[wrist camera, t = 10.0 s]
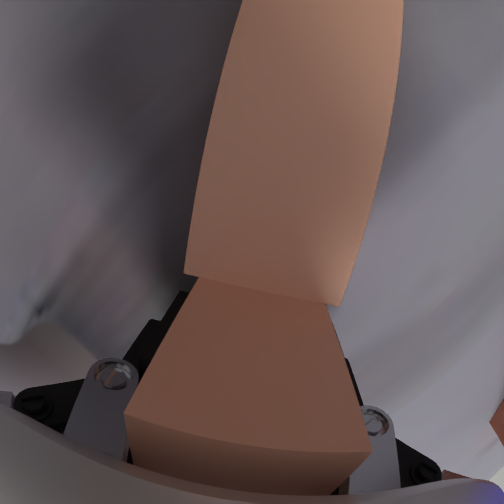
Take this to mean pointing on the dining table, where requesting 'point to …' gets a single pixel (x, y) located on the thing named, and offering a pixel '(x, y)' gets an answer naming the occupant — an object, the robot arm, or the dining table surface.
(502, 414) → the house
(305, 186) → the tan stepped beam
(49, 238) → the dining table surface
